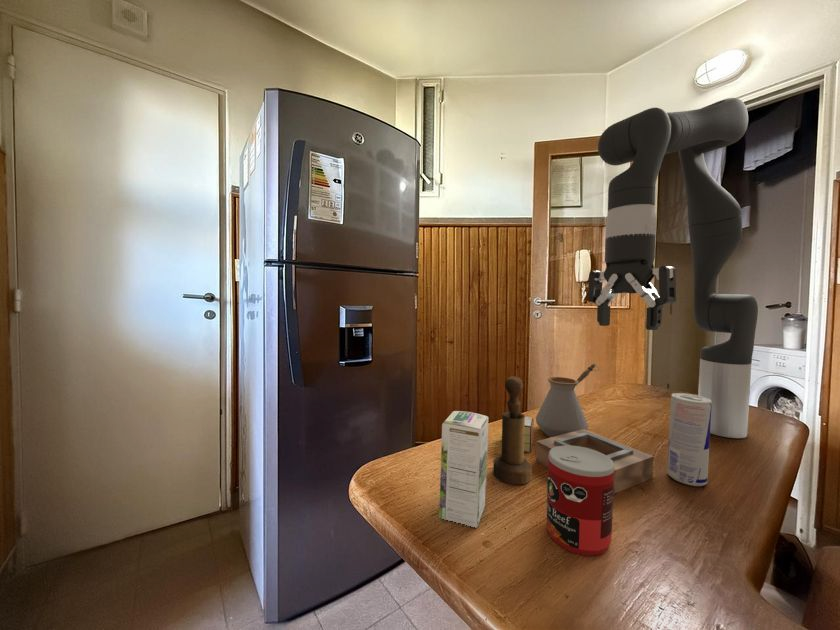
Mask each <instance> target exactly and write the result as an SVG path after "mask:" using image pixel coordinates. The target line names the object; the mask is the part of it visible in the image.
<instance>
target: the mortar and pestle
mask: <svg viewBox="0 0 840 630" xmlns="http://www.w3.org/2000/svg"><path fill="white" fill-rule="evenodd" d="M504 386H505V389H506V390H507V393H508V394H509V400H507V407H508V411H505V412H503V413H502V417H501V418H502V421H501V425H502V426H501V453H500V454H499V455H498V456H496V457H495V458H494V459H493V469H492V471H493V472H492V473H493V475H494V477H495V478H497V480H499V481H501V482H503V483H506V484H510V485H518V486H519V485H525V484H528V483H529V482H531V480H532V465H531V463H530V462H529V461H528V460H527V459H526V458H525V451H524V427H525V417H526V416H525V414H523V413H521V412H520V408H521V404H522V403H521V401H520V400H519V395H520V393H521V392H522V391H523V388H524V383H523V380H522V379H521V378H520V377H518V376H513V375H512V376H509V377H508V378H507V379H506V380H505V385H504Z"/></svg>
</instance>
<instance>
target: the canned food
mask: <svg viewBox="0 0 840 630" xmlns="http://www.w3.org/2000/svg"><path fill="white" fill-rule="evenodd" d="M546 488H547V489H546V491H547V492H546V494H547V495H546V520H545V521H546V522H545V523H546V528H547V532H548V534H549V536H550V538H551V539H552V540H553V541H554V542H555V543H556V544H558V545H559V546H560V547H562V548H564V549H565V550H566V551H569V552H571V553H574V554H577V555H583V556H587V557H588V556H590V557H592V556H599V555H602V554H605V553H606V552H607V551H608V550H609V548H610V545H611V542H612V531H613V510H614V507H613V506H614V494H613V493H614V463H613V461H612V460H611V459H610V458H609V457H608V456H606V455H604V454H602V453H600V452H598V451H595V450H592V449H589V448H585V447H580V446H571V445H565V446H557V447H554V448H552V449H551V450H550V451H549V456H548V468H547V487H546Z"/></svg>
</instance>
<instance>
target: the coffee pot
mask: <svg viewBox="0 0 840 630" xmlns="http://www.w3.org/2000/svg"><path fill="white" fill-rule="evenodd" d="M595 367H597V368H598V369H597V370H595V369H594V368H595ZM599 369H600V366H598V365H597V364H595V363H593V364H591V365H590V366H588V367H587V369H586V370H583V372H582V373H581V375H579V377H578V378H577V379H573V378H570V377H564V376H563V377H562V376H552V377H548V379H547V381H548V382H549V385H550V388H549V391H548V392H547V394H546V397H544V400H543V402H542V405H540V408H539V410H538V412H537V413H536V417H535V422H536V425H537V426H538V427H539V429H540V430H541V431H542V432H543V433H544V435H546V436H548V438H551V437H555V436H558V435H562V434H566V433H570V432H574V431H578V430H582V429H586V430H588V428H589V423H588V421H587V419H586V417H585V413H584V411H583V408H582V406H581V403H580V402H579V398H578V396H577V394H576V391H575V388H576V387H577V385H579V384H580V383H581V382H582V381H584V379H586V378H587V377H588V376H589V374H590V372H593V371H594V372H599Z"/></svg>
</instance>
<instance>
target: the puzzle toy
mask: <svg viewBox="0 0 840 630" xmlns="http://www.w3.org/2000/svg"><path fill="white" fill-rule="evenodd" d="M534 421H535V420H534V418H533V417H530V416H525V427H524V453H526V452H527V453H531V452H532V449H533V443H534V424H535V423H534Z"/></svg>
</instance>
